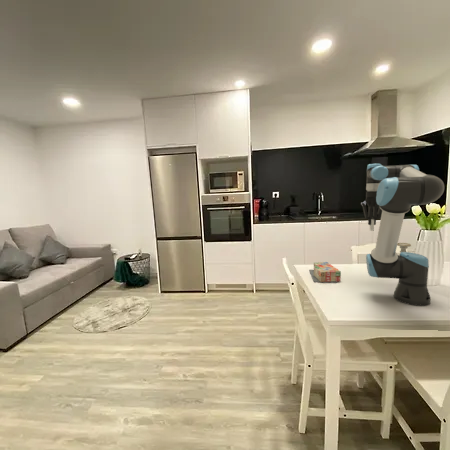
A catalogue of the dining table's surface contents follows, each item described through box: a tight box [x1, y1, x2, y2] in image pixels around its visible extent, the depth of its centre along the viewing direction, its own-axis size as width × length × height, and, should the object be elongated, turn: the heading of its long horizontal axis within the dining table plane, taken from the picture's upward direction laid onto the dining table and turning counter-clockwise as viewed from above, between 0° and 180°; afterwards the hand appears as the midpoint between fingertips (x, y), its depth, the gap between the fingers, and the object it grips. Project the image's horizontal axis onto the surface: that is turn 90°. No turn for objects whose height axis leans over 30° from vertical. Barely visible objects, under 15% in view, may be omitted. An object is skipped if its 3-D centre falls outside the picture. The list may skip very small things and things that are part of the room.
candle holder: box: [397, 242, 412, 254], centre depth 171 cm, size 9×9×20 cm
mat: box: [308, 269, 338, 284], centre depth 174 cm, size 24×13×1 cm, turn 169°
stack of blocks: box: [313, 261, 342, 283], centre depth 173 cm, size 21×6×12 cm
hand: (371, 230), depth 163 cm, fingers closed
